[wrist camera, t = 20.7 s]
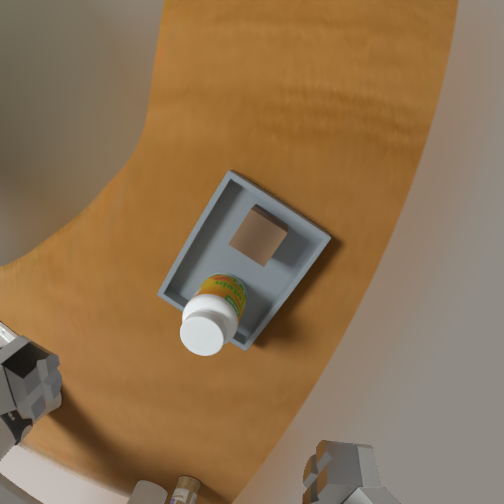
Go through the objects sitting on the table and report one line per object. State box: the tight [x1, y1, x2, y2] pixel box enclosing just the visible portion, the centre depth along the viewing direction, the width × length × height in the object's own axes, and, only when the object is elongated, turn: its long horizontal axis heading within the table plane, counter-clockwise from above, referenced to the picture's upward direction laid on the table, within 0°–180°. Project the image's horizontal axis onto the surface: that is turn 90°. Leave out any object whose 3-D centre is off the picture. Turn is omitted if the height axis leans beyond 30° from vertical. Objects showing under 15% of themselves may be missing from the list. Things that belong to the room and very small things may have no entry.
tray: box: [157, 170, 331, 351], centre depth 34 cm, size 12×16×2 cm
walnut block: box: [229, 204, 288, 267], centre depth 31 cm, size 4×4×4 cm
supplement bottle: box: [180, 273, 247, 356], centre depth 31 cm, size 5×5×10 cm
